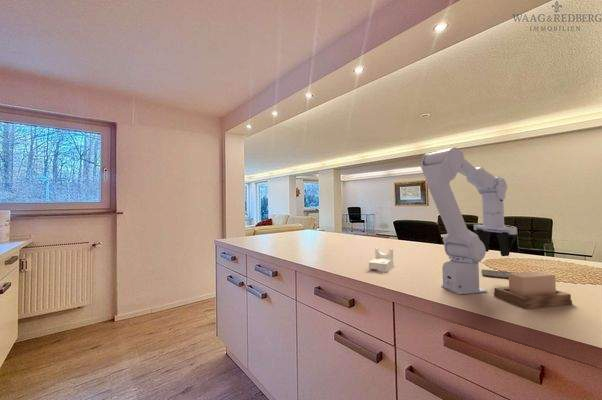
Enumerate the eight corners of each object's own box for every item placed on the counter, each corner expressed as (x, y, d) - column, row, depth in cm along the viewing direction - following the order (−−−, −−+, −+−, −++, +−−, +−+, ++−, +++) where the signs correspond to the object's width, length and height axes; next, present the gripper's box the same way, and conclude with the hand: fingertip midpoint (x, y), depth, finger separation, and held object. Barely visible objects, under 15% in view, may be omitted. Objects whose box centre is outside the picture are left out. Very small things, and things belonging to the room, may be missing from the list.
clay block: (523, 300, 68) (523, 277, 68) (509, 295, 72) (508, 273, 72) (556, 297, 69) (555, 275, 69) (540, 292, 73) (539, 271, 73)
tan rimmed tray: (525, 308, 65) (525, 298, 65) (493, 296, 74) (493, 287, 74) (572, 304, 67) (571, 294, 67) (535, 292, 76) (535, 284, 76)
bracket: (377, 264, 117) (376, 247, 117) (393, 265, 113) (392, 248, 113) (369, 270, 106) (368, 252, 106) (386, 272, 102) (386, 253, 102)
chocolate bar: (481, 269, 101) (543, 275, 91) (481, 271, 101) (543, 278, 91) (482, 274, 93) (550, 282, 83) (482, 277, 93) (550, 285, 83)
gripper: (524, 213, 80) (526, 257, 80) (485, 212, 94) (486, 249, 94) (504, 214, 79) (506, 258, 79) (468, 212, 94) (469, 250, 93)
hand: (494, 253), depth 87 cm, fingers open, 7 cm apart
